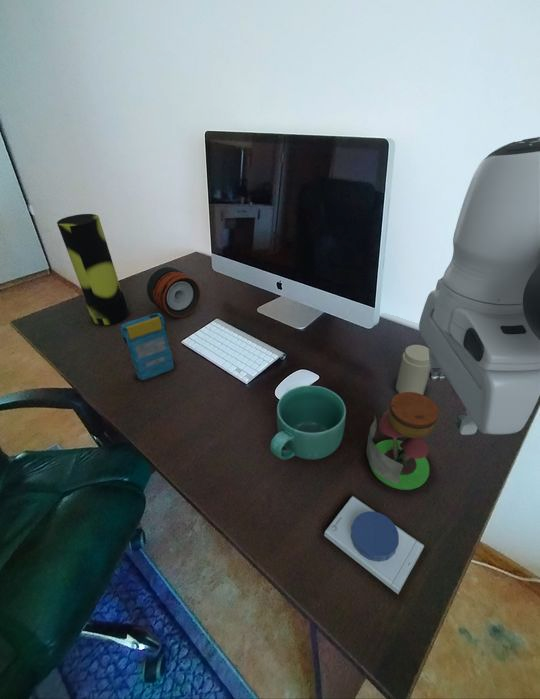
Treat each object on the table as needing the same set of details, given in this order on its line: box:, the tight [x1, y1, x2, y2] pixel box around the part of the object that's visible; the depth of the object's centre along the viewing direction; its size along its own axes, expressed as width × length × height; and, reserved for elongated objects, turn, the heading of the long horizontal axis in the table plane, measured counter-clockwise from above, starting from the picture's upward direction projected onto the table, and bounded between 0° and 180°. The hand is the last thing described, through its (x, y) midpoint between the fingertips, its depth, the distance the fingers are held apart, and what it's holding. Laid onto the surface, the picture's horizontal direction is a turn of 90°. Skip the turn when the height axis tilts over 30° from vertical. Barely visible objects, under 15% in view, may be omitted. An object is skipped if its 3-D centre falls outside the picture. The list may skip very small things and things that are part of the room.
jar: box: [395, 344, 430, 395], centre depth 81 cm, size 6×6×10 cm
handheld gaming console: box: [119, 312, 175, 381], centre depth 88 cm, size 10×4×15 cm, turn 123°
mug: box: [269, 385, 347, 461], centre depth 69 cm, size 17×13×10 cm
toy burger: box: [365, 392, 439, 491], centre depth 64 cm, size 12×13×15 cm
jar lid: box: [351, 511, 399, 562], centre depth 55 cm, size 7×7×2 cm
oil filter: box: [146, 266, 201, 318], centre depth 114 cm, size 13×12×13 cm
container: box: [56, 213, 129, 326], centre depth 106 cm, size 11×11×30 cm
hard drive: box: [323, 495, 425, 595], centre depth 56 cm, size 2×8×12 cm
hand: (448, 402), depth 48 cm, fingers open, 8 cm apart
